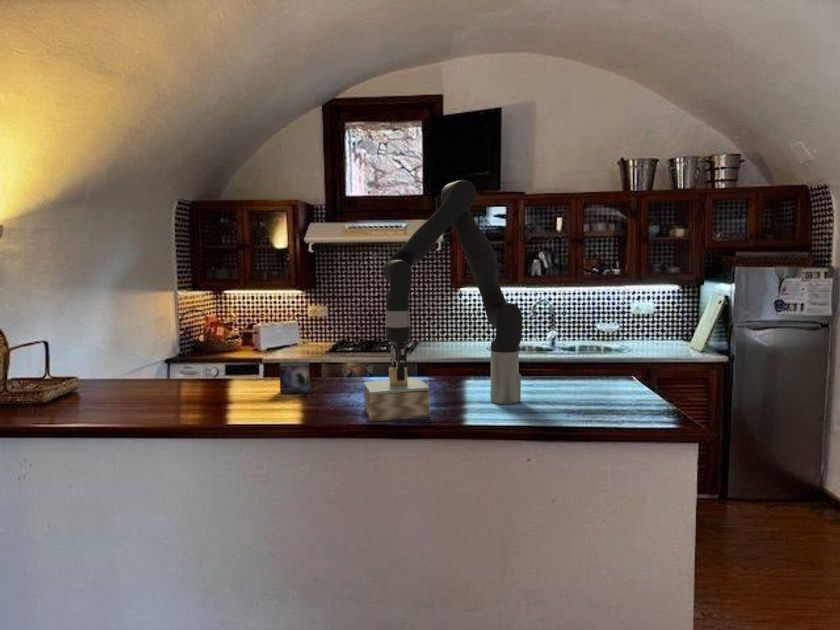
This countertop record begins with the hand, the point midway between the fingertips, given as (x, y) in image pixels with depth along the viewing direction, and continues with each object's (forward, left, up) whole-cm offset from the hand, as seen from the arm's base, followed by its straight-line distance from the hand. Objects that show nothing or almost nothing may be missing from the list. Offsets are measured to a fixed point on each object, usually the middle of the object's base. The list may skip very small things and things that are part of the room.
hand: (398, 378), depth 185 cm
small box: (+31, -37, -11) cm, 50 cm away
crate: (+1, 0, -11) cm, 11 cm away
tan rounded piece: (0, 0, -2) cm, 2 cm away
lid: (+1, 0, -3) cm, 3 cm away
